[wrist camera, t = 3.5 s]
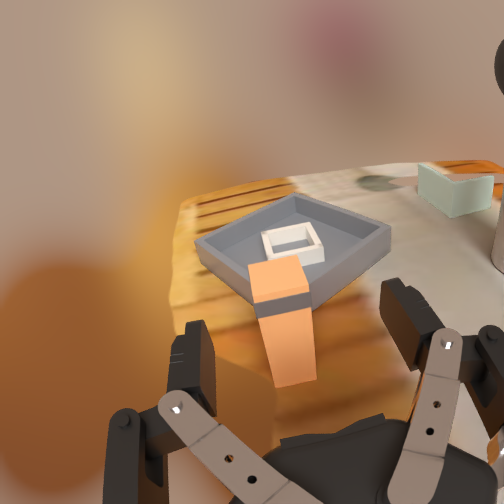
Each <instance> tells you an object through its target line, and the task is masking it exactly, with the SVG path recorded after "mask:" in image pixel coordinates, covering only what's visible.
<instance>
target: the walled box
mask: <svg viewBox="0 0 504 504" xmlns="http://www.w3.org/2000/svg"><path fill="white" fill-rule="evenodd" d="M194 243H195V246H196V249H197V252H198V255H199V258H200V261H201V264H202V265H204V266H205V267H206V268H207V269H208V270H210V271H211V272H212V273H213V274H215V275H216V276H217V277H218V278H219V279H221V280H222V281H223V282H224V283H225V284H227V285H228V286H229V287H230V288H232V289H233V290H234V291H235V292H236V293H238V294H239V295H240V296H241V297H243V298H244V299H245V300H246V301H248V302H249V303H250V304H251V305H253V300H252V293H251V287H250V280H249V273H248V271H249V269H248V265H250V264H255V263H259V262H264V261H269V260H273V259H278V258H283V257H288V256H292V255H297V256H298V258H299V261H300V264H301V266H302V269H303V271H304V274H305V276H306V279H307V281H308V284H309V288H310V291H311V297H312V307H311V312H312V311H314V310H315V309H316V308H318V307H319V306H320V305H322V304H323V303H324V302H326V301H327V300H328V299H330V298H331V297H332V296H334V295H335V294H336V293H338V292H339V291H340V290H342V289H343V288H344V287H346V286H347V285H348V284H350V283H351V282H352V281H354V280H355V279H356V278H357V277H359V276H360V275H361V274H363V273H364V272H365V271H366V270H368V269H369V268H370V267H371V266H373V265H374V264H375V263H376V262H378V261H379V260H380V259H381V258H383V257H384V256H385V255H386V254H388V253H389V252H390V246H391V226H390V225H387V224H384V223H382V222H379V221H376V220H374V219H371V218H368V217H365V216H363V215H360V214H357V213H354V212H351V211H349V210H346V209H343V208H340V207H337V206H334V205H331V204H328V203H325V202H322V201H319V200H316V199H313V198H310V197H307V196H304V195H301V194H298V193H295V192H294V193H292V194H290V195H288V196H286V197H283V198H281V199H279V200H277V201H275V202H273V203H271V204H269V205H267V206H264V207H262V208H260V209H258V210H256V211H254V212H252V213H250V214H248V215H246V216H244V217H242V218H239V219H237V220H235V221H233V222H231V223H229V224H227V225H225V226H223V227H221V228H219V229H217V230H215V231H213V232H211V233H209V234H207V235H205V236H203V237H201V238H199V239H197V240H195V241H194Z"/></svg>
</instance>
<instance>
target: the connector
mask: <svg viewBox="0 0 504 504" xmlns="http://www.w3.org/2000/svg"><path fill="white" fill-rule="evenodd" d="M248 269H249V271H248V273H249V280H250V287H251V293H252V300H253V306H254V310H255V314H256V318H257V319H258V320H259V324H260V328H261V332H262V336H263V340H264V344H265V348H266V352H267V356H268V360H269V364H270V368H271V372H272V376H273V380H274V384H275V388H281V387H286V386H290V385H295V384H299V383H304V382H308V381H312V380H317V374H316V360H315V347H314V335H313V323H312V313H311V307H312V297H311V291H310V288H309V284H308V281H307V279H306V276H305V274H304V271H303V269H302V266H301V264H300V261H299V258H298V256H297V255H292V256H288V257H283V258H278V259H273V260H269V261H264V262H259V263H255V264H250V265H248Z"/></svg>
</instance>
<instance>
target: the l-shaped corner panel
mask: <svg viewBox="0 0 504 504" xmlns="http://www.w3.org/2000/svg"><path fill="white" fill-rule="evenodd" d="M493 185H494V177H493V176H492V175H491V176H485V177H479V178H474V179H468V180H462V181H457V182H454V181H452V180H451V179H449V178H447V177H446V176H444V175H442V174H441V173H439V172H437V171H435V170H434V169H432V168H430V167H428V166H427V165H425V164H423V163H419V164H418V195H419V196H421V197H422V198H424V199H425V200H426V201H428V202H429V203H430V204H432V205H433V206H435V207H436V208H437V209H439V210H440V211H441V212H442V213H444V214H445V215H446V216H448V217H449V218H454V217H458V216H462V215H466V214H470V213H473V212H477V211H481V210H485V209H489V208H490V207H491V200H492V193H493Z"/></svg>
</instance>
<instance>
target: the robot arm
mask: <svg viewBox="0 0 504 504" xmlns="http://www.w3.org/2000/svg"><path fill="white" fill-rule="evenodd" d="M494 65H495V66H494V68H495V76H496V81H497V83H498V86H499V88H500V90H501V91H502V93H503V94H504V40H503V41H502V42H501V44H500V45H499V47H498V50H497V52H496V56H495V64H494ZM491 259H492V262H493V263H494V265H495V266H496V267H497V268H498V269H499V270H500V271H501V272H503V273H504V186H503V194H502V201H501V207H500V213H499V219H498V224H497V230H496V234H495V239H494V244H493V248H492V253H491ZM379 309H380V315H381V318H382V320H383V322H384V324H385V325H386V327H387V329H388V331H389V333H390V334H391V336H392V338H393V340H394V342H395V343H396V345H397V347H398V349H399V351H400V353H401V354H402V356H403V358H404V360H405V362H406V364H407V366H408V368H409V370H410V372H411V371H414V370H417V369H419V370H420V372H421V374H420V377H419V381H418V385H417V389H416V392H415V396H414V399H413V402H412V406H411V409H410V412H409V415H408V417H407V420H406V421H402V420H397V419H385V417H384V415H383V413H381V414H378V415H375V416H372V417H369V418H365V419H362V420H359V421H357V422H355V423H353V424H352V425H350V426H348V427H346V428H344V429H342V430H340V431H338V432H336V433H333V434H304V435H299V436H294V437H289V438H284V439H280V442H281V446H279V447H277V448H275V449H273V450H271V451H270V452H268V453H267V454H265V455H264V456H263V457H262V458H260V457H259V456H258V455H257V454H256V453H255V452H253V451H252V450H251V449H250V448H249V447H247V446H246V445H245V444H244V443H243V442H242V441H241V440H240V439H238V438H237V437H236V436H235V435H234V434H233V433H232V432H230V430H228V429H227V428H226V427H225V426H224V425H222V424H218V423H217V422H216V421H215V420H214V419H213V418H212V417H216V416H217V411H216V377H215V351H214V346H213V343H212V340H211V338H210V335H209V332H208V330H207V327H206V325H205V322H204V320H197V321H191V322H187V323H186V327H185V335H178V336H177V337H176V339H175V340H174V342H173V344H172V347H171V356H170V365H169V374H168V384H167V392H166V394H165V395H164V396H163V397H162V398H161V399H160V401H159V403H158V405H157V406H155V407H153V408H151V409H148V410H145V411H143V412H140V413H137V412H136V411H135V410H133V409H130V408H125V409H121V410H119V411H117V412H116V413H115V414H114V415H113V416H112V418H111V419H110V423H109V431H108V439H107V449H106V460H105V471H104V485H103V486H104V487H103V504H169V490H168V489H169V487H168V453H171V452H173V451H176V450H179V449H182V448H184V447H188V448H189V449H190V451H191V452H192V453H193V454H194V455H195V456H196V457H197V458H198V459H199V460H200V461H201V462H202V464H203V465H204V466H205V467H206V468H207V469H208V470H209V471H210V472H211V473H212V474H213V475H214V476H215V477H216V478H217V479H218V480H219V481H220V482H221V483H222V484H223V485H224V486H225V487H226V488H227V489H228V490H229V491H230V492H231V493H233V495H234V497H233V498H232V500H231V501H230V502H229V504H496V502H497V494H498V491H499V490H501V489H503V488H504V332H503V331H502V330H501V329H500V328H498V327H496V326H493V325H486V326H484V327H482V328H481V329H480V331H479V333H478V335H471V336H461V335H460V334H459V333H458V332H457V331H455V330H453V329H450V328H445V326H444V325H443V323H442V322H441V321H440V319H439V318H438V316H437V315H436V314H435V312H434V311H433V309H432V308H431V307H429V304H428V303H427V301H426V300H425V299H424V297H423V296H422V295H421V293H420V292H419V291H418V290H416V289H415V288H413V287H412V286H407V287H405V285H404V284H403V283H402V281H401V280H400V279H399V278H393V279H389V280H386V281H383V282H382V284H381V294H380V306H379ZM460 383H464V384H465V386H466V388H467V390H468V392H469V394H470V396H471V398H472V401H473V403H474V405H475V407H476V409H477V411H478V413H479V415H480V417H481V420H482V422H483V424H484V426H485V429H486V431H487V433H488V435H489V438H490V441H489V443H488V446H487V455H488V456H487V459H488V463H487V462H485V461H483V460H481V459H479V458H477V457H475V456H473V455H471V454H469V453H467V452H465V451H463V450H461V449H459V448H457V447H455V446H453V445H451V444H449V443H448V440H449V436H450V432H451V427H452V423H453V419H454V414H455V409H456V404H457V399H458V393H459V387H460Z"/></svg>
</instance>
